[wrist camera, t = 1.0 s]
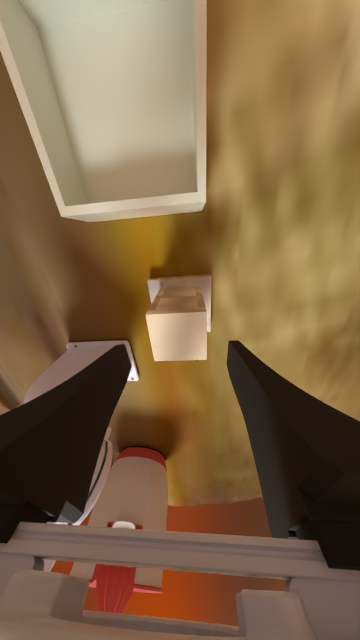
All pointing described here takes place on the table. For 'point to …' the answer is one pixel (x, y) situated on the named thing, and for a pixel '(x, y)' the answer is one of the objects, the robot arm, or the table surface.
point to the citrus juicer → (128, 524)
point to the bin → (113, 101)
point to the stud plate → (184, 283)
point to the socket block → (178, 325)
